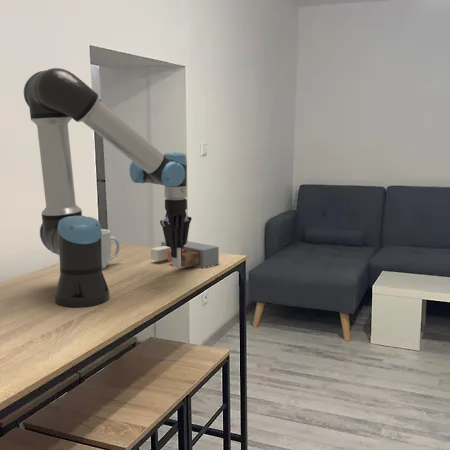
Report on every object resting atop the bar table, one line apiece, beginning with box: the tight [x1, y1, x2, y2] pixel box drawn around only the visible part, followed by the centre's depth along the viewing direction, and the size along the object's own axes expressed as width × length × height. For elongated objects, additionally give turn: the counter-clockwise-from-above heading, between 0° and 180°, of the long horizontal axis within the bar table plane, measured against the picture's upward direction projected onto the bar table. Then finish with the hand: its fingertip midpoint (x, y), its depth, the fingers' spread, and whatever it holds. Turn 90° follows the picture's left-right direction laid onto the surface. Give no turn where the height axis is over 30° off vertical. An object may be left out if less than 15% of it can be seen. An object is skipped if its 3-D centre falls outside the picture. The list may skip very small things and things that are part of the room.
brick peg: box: [167, 248, 186, 263], centre depth 203 cm, size 9×4×4 cm, turn 139°
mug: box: [101, 228, 121, 270], centre depth 196 cm, size 15×11×13 cm
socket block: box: [160, 240, 220, 269], centre depth 206 cm, size 8×22×6 cm, turn 49°
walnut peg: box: [181, 251, 200, 268], centre depth 196 cm, size 9×4×4 cm, turn 139°
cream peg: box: [150, 246, 171, 262], centre depth 206 cm, size 9×4×4 cm, turn 139°
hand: (176, 266), depth 192 cm, fingers closed
